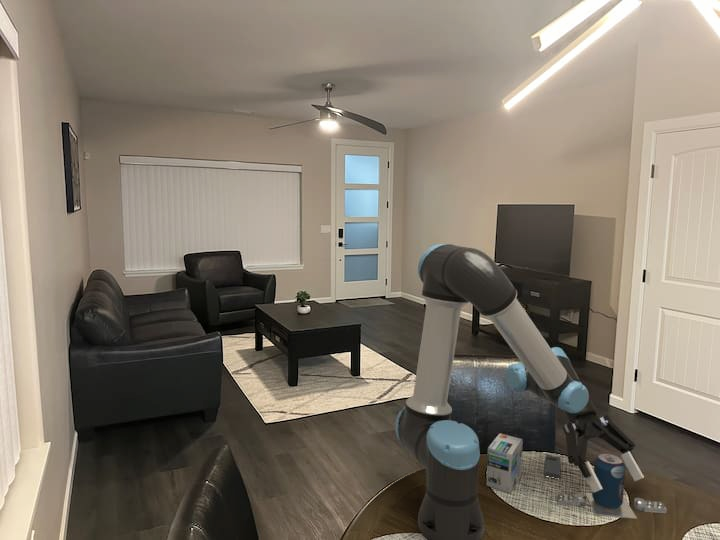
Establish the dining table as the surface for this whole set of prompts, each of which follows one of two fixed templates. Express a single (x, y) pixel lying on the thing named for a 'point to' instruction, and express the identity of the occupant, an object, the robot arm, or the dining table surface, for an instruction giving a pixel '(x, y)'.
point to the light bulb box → (504, 462)
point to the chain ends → (622, 511)
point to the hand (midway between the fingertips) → (619, 485)
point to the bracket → (552, 466)
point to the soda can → (609, 480)
